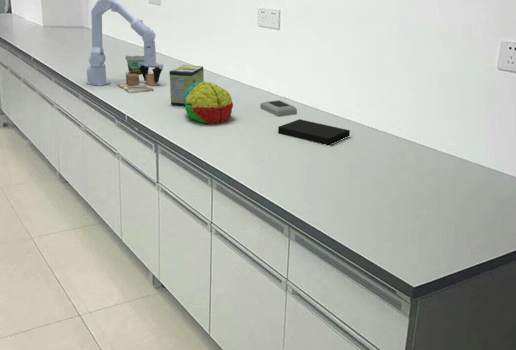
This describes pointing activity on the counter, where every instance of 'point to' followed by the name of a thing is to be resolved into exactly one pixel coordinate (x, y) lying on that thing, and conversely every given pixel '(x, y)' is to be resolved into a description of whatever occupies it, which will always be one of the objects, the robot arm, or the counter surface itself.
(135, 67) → the food container
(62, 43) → the counter surface
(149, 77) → the terracotta block
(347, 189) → the counter surface
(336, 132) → the black microchip
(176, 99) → the protein box
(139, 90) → the baseplate
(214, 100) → the brain model
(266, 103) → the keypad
